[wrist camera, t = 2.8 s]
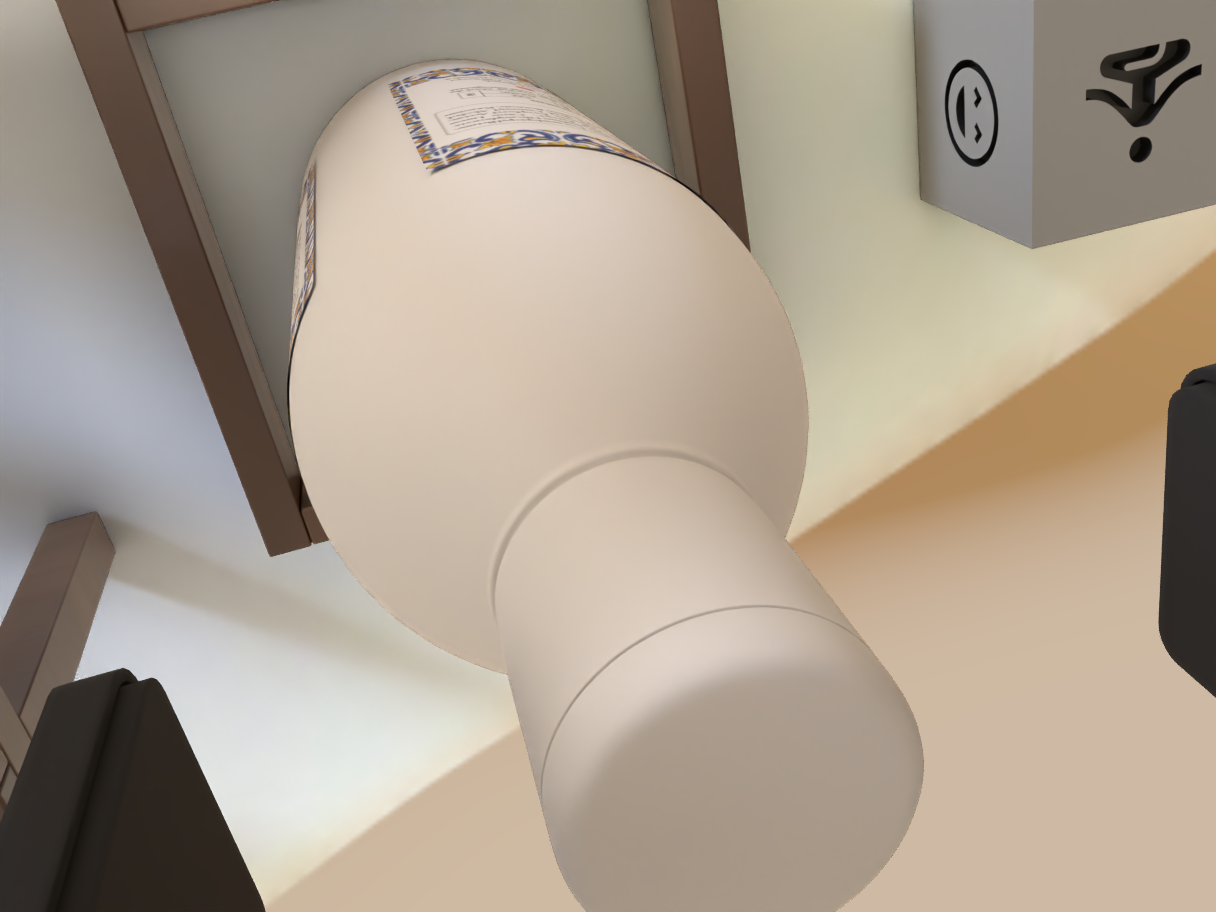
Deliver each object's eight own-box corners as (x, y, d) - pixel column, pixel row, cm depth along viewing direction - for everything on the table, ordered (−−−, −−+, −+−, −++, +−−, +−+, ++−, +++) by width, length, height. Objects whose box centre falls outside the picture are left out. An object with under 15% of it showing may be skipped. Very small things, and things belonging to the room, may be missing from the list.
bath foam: (449, 412, 28) (677, 1242, 10) (231, 207, 25) (22, 895, 7) (659, 222, 27) (1299, 768, 10) (463, -15, 24) (873, 140, 6)
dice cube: (1107, -52, 27) (1262, -49, 22) (1099, 158, 29) (1239, 198, 25) (912, -12, 26) (1033, 0, 22) (920, 199, 28) (1031, 248, 24)
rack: (-404, 704, 26) (-762, 1088, 17) (-812, 170, 20) (-1641, 347, 12) (746, 388, 30) (924, 578, 21) (670, -143, 24) (871, -184, 15)
